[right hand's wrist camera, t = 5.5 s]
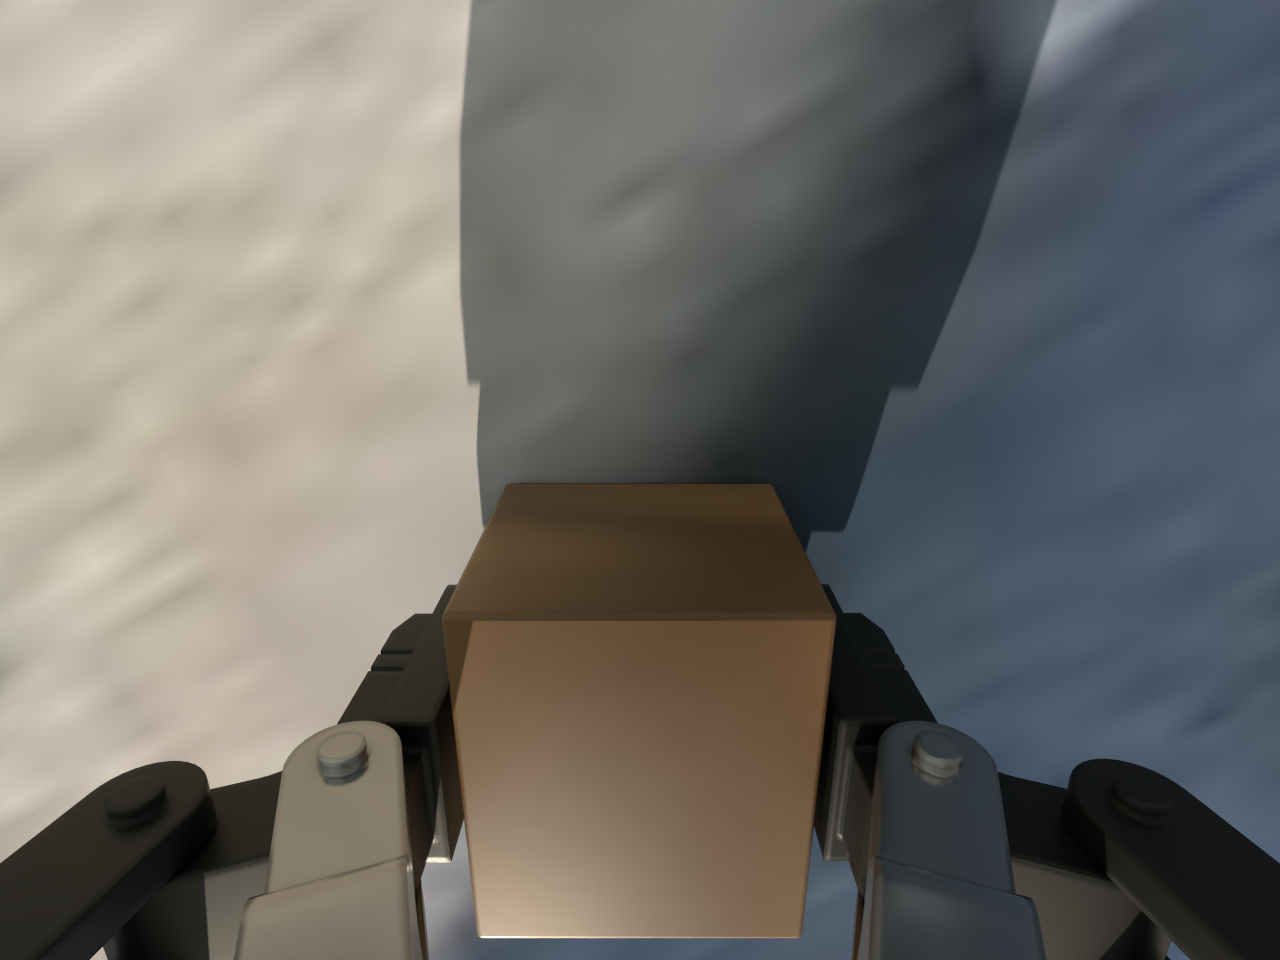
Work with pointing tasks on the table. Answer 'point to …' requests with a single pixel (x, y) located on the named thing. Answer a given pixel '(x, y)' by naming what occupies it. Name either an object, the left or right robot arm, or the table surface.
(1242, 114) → the table surface
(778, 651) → the brick
